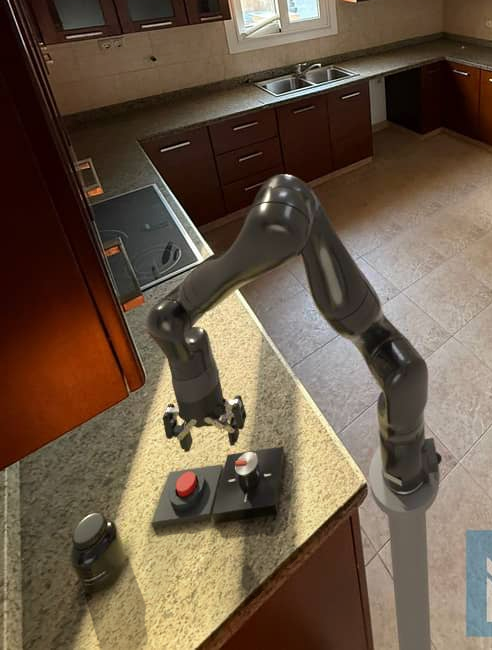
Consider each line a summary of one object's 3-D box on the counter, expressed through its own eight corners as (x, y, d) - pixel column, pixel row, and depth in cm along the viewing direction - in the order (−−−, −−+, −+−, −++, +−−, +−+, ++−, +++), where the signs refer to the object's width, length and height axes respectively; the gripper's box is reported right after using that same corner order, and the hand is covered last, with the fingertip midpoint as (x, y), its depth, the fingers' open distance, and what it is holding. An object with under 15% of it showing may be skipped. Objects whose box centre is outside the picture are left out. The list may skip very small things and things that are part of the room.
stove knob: (263, 465, 91) (259, 449, 89) (257, 489, 87) (254, 473, 85) (242, 467, 91) (238, 451, 89) (235, 491, 86) (231, 474, 85)
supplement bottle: (93, 606, 73) (73, 563, 70) (76, 578, 77) (56, 536, 73) (134, 562, 79) (118, 520, 75) (116, 537, 83) (100, 496, 79)
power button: (199, 476, 89) (197, 470, 89) (193, 495, 86) (191, 490, 85) (181, 478, 89) (179, 472, 88) (174, 498, 86) (172, 492, 85)
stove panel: (285, 455, 95) (283, 445, 94) (277, 514, 85) (274, 504, 84) (229, 463, 94) (227, 454, 93) (214, 524, 84) (211, 513, 83)
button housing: (223, 469, 93) (220, 458, 92) (211, 519, 85) (207, 507, 84) (171, 477, 92) (167, 466, 91) (153, 528, 84) (149, 516, 83)
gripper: (147, 406, 75) (166, 470, 80) (231, 395, 76) (244, 459, 81) (164, 369, 82) (181, 430, 87) (241, 360, 83) (252, 420, 89)
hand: (211, 444), depth 84 cm, fingers open, 8 cm apart
